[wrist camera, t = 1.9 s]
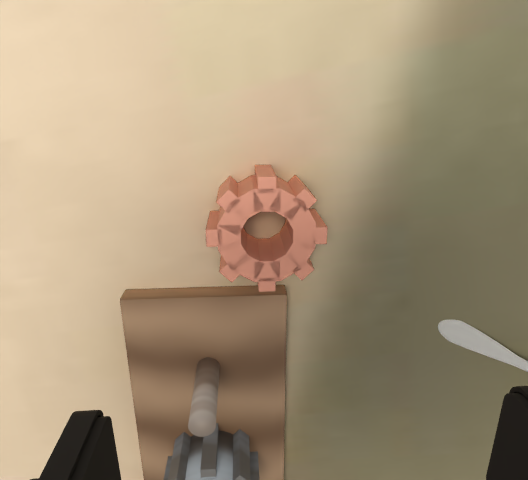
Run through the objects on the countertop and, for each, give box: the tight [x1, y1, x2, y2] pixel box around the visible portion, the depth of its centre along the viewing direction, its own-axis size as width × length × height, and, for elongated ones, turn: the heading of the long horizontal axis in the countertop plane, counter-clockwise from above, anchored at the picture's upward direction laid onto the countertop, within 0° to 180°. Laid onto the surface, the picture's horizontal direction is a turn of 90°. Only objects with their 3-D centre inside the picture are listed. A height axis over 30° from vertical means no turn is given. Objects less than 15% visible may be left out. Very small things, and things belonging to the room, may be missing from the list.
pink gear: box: [206, 165, 327, 292], centre depth 25 cm, size 7×7×4 cm
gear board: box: [120, 285, 287, 480], centre depth 29 cm, size 22×11×8 cm, turn 0°
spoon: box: [438, 320, 528, 372], centre depth 32 cm, size 4×21×2 cm, turn 64°
